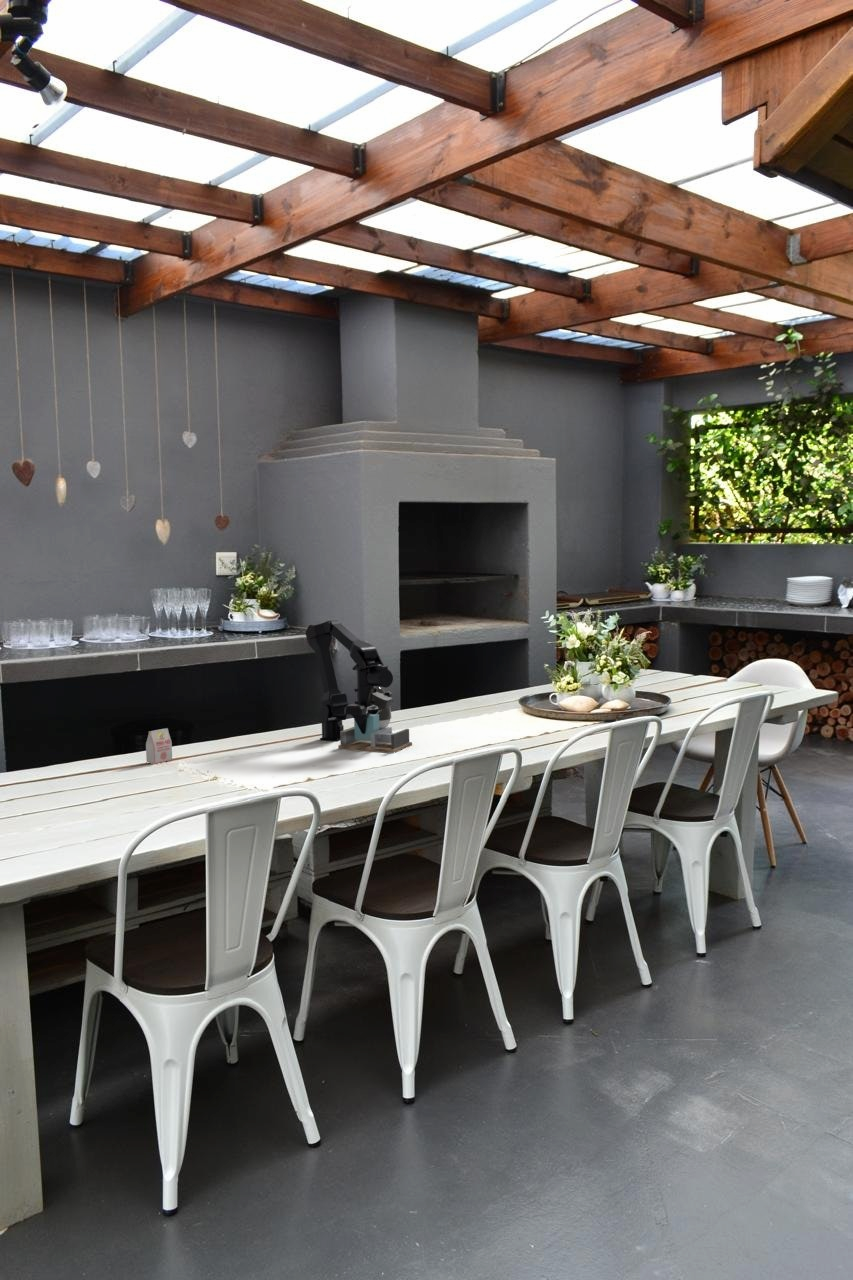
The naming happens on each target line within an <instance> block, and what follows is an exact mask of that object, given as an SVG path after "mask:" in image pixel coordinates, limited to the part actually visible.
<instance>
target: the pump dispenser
mask: <svg viewBox="0 0 853 1280" xmlns="http://www.w3.org/2000/svg"><path fill="white" fill-rule="evenodd" d="M375 687H377V688H378V692H379V693H383V694H385V693H386V691H385V690H384V689H383V688H384V687H378V686H375ZM377 707H378V706H377ZM378 709H381V708H380V707H378ZM378 714H379V730H381V729H384V728H387V727H389V725H390V723H391V719H392V710H391V706H390V707H389V708H386V709H382V710H381V711H380V712H379V713H378Z"/></svg>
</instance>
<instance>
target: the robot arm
mask: <svg viewBox="0 0 853 1280" xmlns="http://www.w3.org/2000/svg"><path fill="white" fill-rule="evenodd" d="M305 636H306V637H305V638H306V641H307V643H308V645H309V647H310V648H311V649H312V650H313V651H314V653H315V658H316V661H317V662H316V663H317V666H318V671H319V675H320V680H321V684H322V685H321V686H322V688H323V689H322V690H323V695H322V699H321V708H320V710H319V711H318V713H317V714H316V719H317V723H321V737H320V738H319V740H322V741H334V742H335V741H339V740H340V731H343V730H345V729H344V724H343V721H346V720H347V715H348V716H349V715H350V716H352V718H353V720H354V719H355V721H356V723H357V725H358V727H359V729H360V731H361V733H362V734H365V732H366V723H367V717H368V716H369V715H370V714H378V713H379V712H380V711H381V710H382V709H386V708H389V707H390V708H391V704H392V703H393V702H394V698H393V693H392V692H391V691H385V694H383V693H379V692H378V688H377V687H375V686H378V687H381V688H389V687H391V685H392V684H393V682H394V675H393V674H392V671H390V670H389V666H388V665H384V663H383V660H382V658H381V657H380V655H379V652H378V650H377V648H376V647H375V646H374V645H373V644H372V643H369V642H367V641H363V640H361V639H360V638H358V637H357V636H356V635H355V634H353V633H352V631H350V630H349V629H348V628H347V627H346V626H344V624H342V622H341V621H340V620H338V619H333V620H327V621H324V622H322V623H318V624H310V625H308V626H307V628H306V630H305ZM333 638H334V639H335V640H337V641H338V642H339V643H340V644H341V645H342V646H343V647H344V648H346V649H347V651H348V652H349V656H350V658H351V659H352V660H353V662H354V663H355V665H354V666H352V671H356V687H355V688H354V692H355V693H356V694H357V695H356V698H357V699H356V700H354V703H351V704H349V702H348V697H347V694H346V693H345V692H341V690H340V688H339V685H338V680H337V675H336V671H335V667H334V663H333V658H332V654H331V653H332V652H331V649H330V648H331V645H332V642H333ZM377 706H378V707H380V708H381V709H378V707H377Z"/></svg>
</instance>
